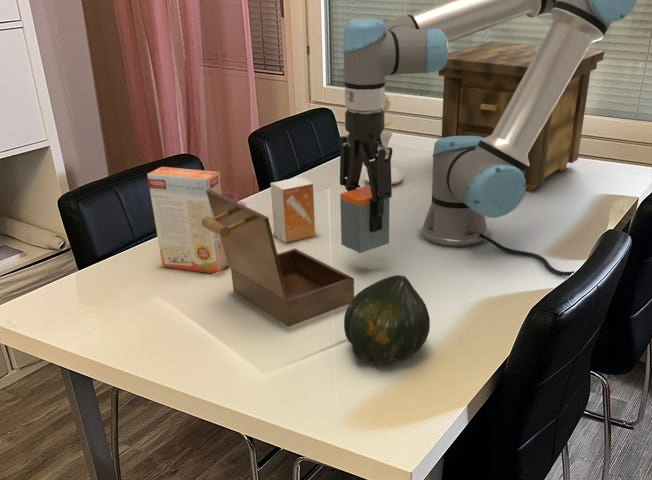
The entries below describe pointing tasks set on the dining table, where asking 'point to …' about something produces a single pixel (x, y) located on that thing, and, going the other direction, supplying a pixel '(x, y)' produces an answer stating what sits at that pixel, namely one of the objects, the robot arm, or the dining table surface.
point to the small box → (293, 209)
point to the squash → (387, 321)
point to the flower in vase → (385, 137)
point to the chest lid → (246, 242)
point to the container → (361, 221)
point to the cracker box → (186, 219)
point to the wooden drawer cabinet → (496, 92)
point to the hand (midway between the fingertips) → (365, 225)
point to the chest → (299, 289)
